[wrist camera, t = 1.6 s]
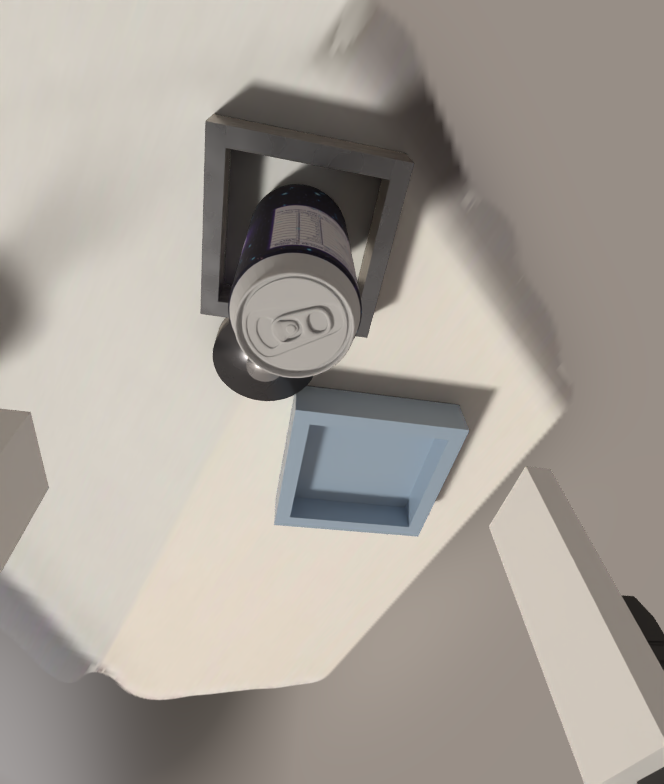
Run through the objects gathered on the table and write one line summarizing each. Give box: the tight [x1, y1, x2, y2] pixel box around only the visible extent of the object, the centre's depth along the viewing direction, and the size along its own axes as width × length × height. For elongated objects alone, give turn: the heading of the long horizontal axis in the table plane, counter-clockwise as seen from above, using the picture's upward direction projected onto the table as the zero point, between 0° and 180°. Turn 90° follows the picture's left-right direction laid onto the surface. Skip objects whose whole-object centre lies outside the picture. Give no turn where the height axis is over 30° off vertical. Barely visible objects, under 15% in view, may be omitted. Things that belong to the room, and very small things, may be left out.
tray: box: [274, 386, 469, 536], centre depth 39 cm, size 13×13×3 cm
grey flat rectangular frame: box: [201, 114, 414, 401], centre depth 30 cm, size 17×10×3 cm, turn 169°
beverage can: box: [228, 184, 362, 378], centre depth 24 cm, size 6×6×12 cm
